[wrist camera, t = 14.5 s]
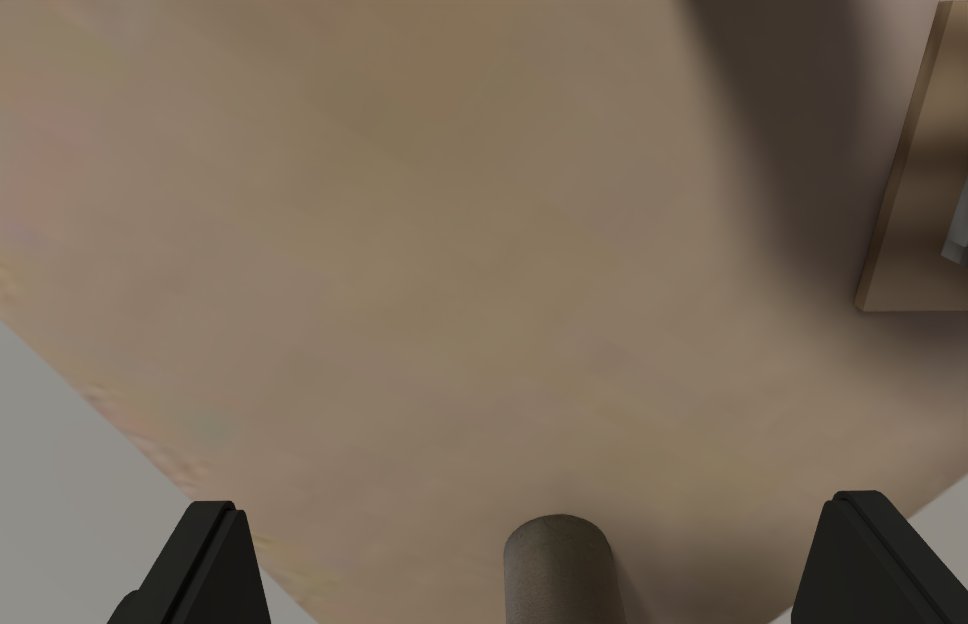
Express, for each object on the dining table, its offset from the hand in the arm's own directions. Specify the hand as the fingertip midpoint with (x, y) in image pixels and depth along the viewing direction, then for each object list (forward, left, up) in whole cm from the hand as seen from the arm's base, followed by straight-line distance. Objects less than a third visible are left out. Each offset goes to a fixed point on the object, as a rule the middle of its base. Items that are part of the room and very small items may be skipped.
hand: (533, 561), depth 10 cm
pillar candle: (+36, +6, -34) cm, 50 cm away
